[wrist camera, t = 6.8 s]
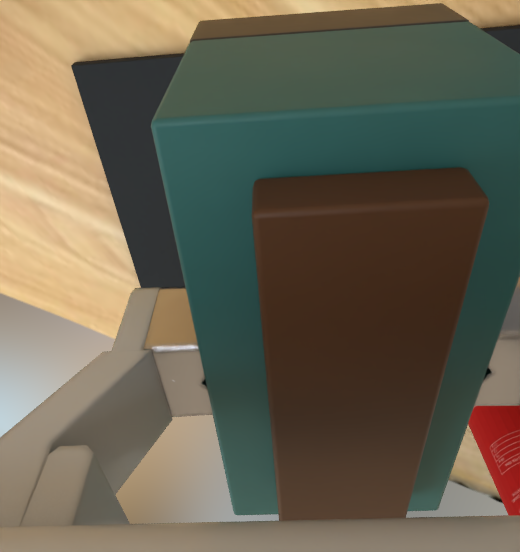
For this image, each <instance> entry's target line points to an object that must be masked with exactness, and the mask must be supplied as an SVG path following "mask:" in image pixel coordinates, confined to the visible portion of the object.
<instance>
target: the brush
mask: <svg viewBox="0 0 520 552" xmlns="http://www.w3.org/2000/svg"><path fill="white" fill-rule="evenodd" d="M151 129H152V133H153V138H154V143H155V147H156V152H157V157H158V161H159V166H160V171H161V175H162V180H163V185H164V189H165V194H166V199H167V203H168V208H169V213H170V217H171V222H172V227H173V231H174V236H175V241H176V245H177V250H178V255H179V259H180V264H181V269H182V273H183V278H184V283H185V287H186V292H187V296H188V301H189V306H190V310H191V315H192V320H193V324H194V329H195V334H196V338H197V343H198V348H199V352H200V357H201V362H202V366H203V371H204V376H205V380H206V385H207V390H208V394H209V399H210V404H211V408H212V413H213V418H214V422H215V427H216V432H217V436H218V440H219V446H220V450H221V455H222V460H223V464H224V469H225V474H226V478H227V483H228V488H229V492H230V497H231V502H232V505H233V511H234V513H235V514H236V515H259V514H260V515H263V514H279V521H290V520H333V519H376V518H406V514H407V511H428V510H437V509H438V508H439V505H440V502H441V499H442V496H443V493H444V490H445V488H446V485H447V482H448V479H449V476H450V473H451V471H452V468H453V465H454V462H455V459H456V456H457V453H458V451H459V448H460V445H461V442H462V439H463V436H464V434H465V431H466V428H467V425H468V422H469V419H470V416H471V414H472V411H473V408H474V405H475V402H476V399H477V397H478V394H479V391H480V388H481V385H482V382H483V379H484V377H485V374H486V371H487V368H488V365H489V362H490V360H491V357H492V354H493V351H494V348H495V345H496V342H497V340H498V337H499V334H500V331H501V328H502V325H503V323H504V320H505V317H506V314H507V311H508V308H509V305H510V303H511V300H512V297H513V294H514V291H515V288H516V286H517V283H518V280H519V277H520V54H519V53H517V52H515V51H514V50H512V49H511V48H509V47H508V46H506V45H505V44H503V43H501V42H500V41H498V40H497V39H495V38H494V37H492V36H491V35H489V34H487V33H486V32H484V31H483V30H481V29H480V28H478V27H477V26H475V25H473V24H472V23H470V22H469V20H467V19H466V18H464V17H462V16H461V15H459V14H458V13H456V12H455V11H453V10H452V9H450V8H448V7H447V6H445V5H444V4H441V3H440V4H426V5H412V6H398V7H385V8H371V9H357V10H344V11H330V12H316V13H302V14H289V15H275V16H261V17H248V18H234V19H220V20H207V21H200V22H199V23H198V25H197V28H196V30H195V32H194V34H193V36H192V38H191V40H190V43H189V45H188V47H187V50H186V52H185V54H184V56H183V58H182V60H181V62H180V64H179V66H178V68H177V70H176V72H175V74H174V76H173V78H172V80H171V82H170V85H169V87H168V89H167V91H166V93H165V95H164V97H163V99H162V101H161V103H160V105H159V107H158V109H157V111H156V113H155V115H154V117H153V119H152V123H151Z"/></svg>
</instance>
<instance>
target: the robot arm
mask: <svg viewBox="0 0 520 552" xmlns="http://www.w3.org/2000/svg"><path fill="white" fill-rule="evenodd" d="M474 406H520V277H519V280H518V283H517V286H516V288H515V291H514V294H513V297H512V300H511V303H510V305H509V308H508V311H507V314H506V317H505V320H504V323H503V325H502V328H501V331H500V334H499V337H498V340H497V342H496V345H495V348H494V351H493V354H492V357H491V360H490V362H489V365H488V368H487V371H486V374H485V377H484V379H483V382H482V385H481V388H480V391H479V394H478V397H477V399H476V402H475V405H474ZM196 415H213V413H212V408H211V404H210V399H209V394H208V390H207V385H206V380H205V376H204V371H203V366H202V362H201V357H200V352H199V348H198V343H197V338H196V334H195V329H194V324H193V320H192V315H191V310H190V306H189V301H188V296H187V292H186V287H185V286H179V287H162V288H160V287H153V288H135V289H134V290H133V291H132V293H131V294H130V297H129V300H128V303H127V306H126V309H125V312H124V315H123V318H122V321H121V324H120V327H119V330H118V333H117V336H116V339H115V342H114V345H113V348H112V351H110V352H102V353H101V354H100V355H99V356H98V357H97V358H95V359H94V360H93V361H92V362H90V363H89V364H88V365H87V366H86V367H84V368H83V369H82V370H81V371H80V372H78V373H77V374H76V375H75V376H74V377H73V378H71V379H70V380H69V381H68V382H67V383H65V384H64V385H63V386H62V387H61V388H59V389H58V390H57V391H56V392H54V393H53V394H52V395H51V396H50V397H48V398H47V399H46V400H45V401H44V402H43V403H41V404H40V405H39V406H38V407H37V408H36V409H34V410H33V411H32V412H31V413H29V414H28V415H27V416H26V417H25V418H23V419H22V420H21V421H20V422H19V423H17V424H16V425H15V426H14V427H13V428H12V429H10V430H9V431H8V432H7V433H5V434H4V435H3V436H2V437H1V438H0V552H520V515H510V516H465V517H419V518H376V519H333V520H290V521H249V522H248V521H247V522H202V523H159V524H158V523H157V524H130V523H129V521H128V519H127V517H126V515H125V513H124V511H123V509H122V507H121V505H120V504H119V502H118V500H117V498H116V496H115V494H116V493H117V492H118V490H119V489H120V488H121V486H122V485H123V483H124V482H125V481H126V480H127V479H128V477H129V476H130V475H131V473H132V472H133V471H134V469H135V468H136V467H137V465H138V464H139V463H140V461H141V460H142V459H143V458H144V456H145V455H146V454H147V452H148V451H149V450H150V448H151V447H152V446H153V444H154V443H155V442H156V440H157V439H158V438H159V436H160V435H161V434H162V433H163V431H164V430H165V429H166V427H167V426H168V425H169V423H170V422H171V421H172V417H181V416H196Z"/></svg>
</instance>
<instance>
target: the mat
mask: <svg viewBox="0 0 520 552" xmlns="http://www.w3.org/2000/svg"><path fill="white" fill-rule="evenodd" d="M480 29H481V30H483V31H484V32H486V33H487V34H489V35H491V36H492V37H494V38H495V39H497V40H498V41H500V42H501V43H503V44H505V45H506V46H508V47H509V48H511V49H512V50H514V51H515V52H517V53H519V54H520V25H516V26H504V27H492V28H480ZM184 54H185V53H181V54H169V55H157V56H145V57H134V58H122V59H110V60H98V61H86V62H75V63H74V64H73V65H72V70H73V73H74V76H75V79H76V82H77V86H78V89H79V92H80V95H81V98H82V101H83V105H84V108H85V111H86V114H87V117H88V120H89V124H90V127H91V130H92V133H93V136H94V140H95V143H96V146H97V149H98V152H99V155H100V159H101V162H102V165H103V168H104V171H105V174H106V178H107V181H108V184H109V187H110V190H111V194H112V197H113V200H114V203H115V206H116V209H117V213H118V216H119V219H120V222H121V225H122V229H123V232H124V235H125V238H126V241H127V244H128V248H129V251H130V254H131V257H132V260H133V263H134V267H135V270H136V273H137V276H138V279H139V283H140V286H141V288H153V287H160V288H162V287H179V286H185V283H184V278H183V273H182V269H181V264H180V259H179V255H178V250H177V245H176V241H175V236H174V231H173V227H172V222H171V217H170V213H169V208H168V203H167V199H166V194H165V189H164V185H163V180H162V175H161V171H160V166H159V161H158V157H157V152H156V147H155V143H154V138H153V133H152V129H151V123H152V119H153V117H154V115H155V113H156V111H157V109H158V107H159V105H160V103H161V101H162V99H163V97H164V95H165V93H166V91H167V89H168V87H169V85H170V82H171V80H172V78H173V76H174V74H175V72H176V70H177V68H178V66H179V64H180V62H181V60H182V58H183V56H184Z"/></svg>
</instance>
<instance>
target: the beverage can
mask: <svg viewBox="0 0 520 552" xmlns="http://www.w3.org/2000/svg"><path fill="white" fill-rule="evenodd" d="M468 424H469V427H470V429H471V431H472V433H473V436H474V438H475V440H476V442H477V445H478V447H479V449H480V451H481V454H482V456H483V458H484V461H485V463H486V465H487V467H488V470H489V472H490V474H491V476H492V479H493V481H494V483H495V485H496V488H497V490H498V492H499V495H500V497H501V499H502V501H503V504H504V506H505V508H506V510H507V513H508V515H509V516H510V515H520V406H474V408H473V411H472V414H471V416H470V419H469V422H468Z"/></svg>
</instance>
